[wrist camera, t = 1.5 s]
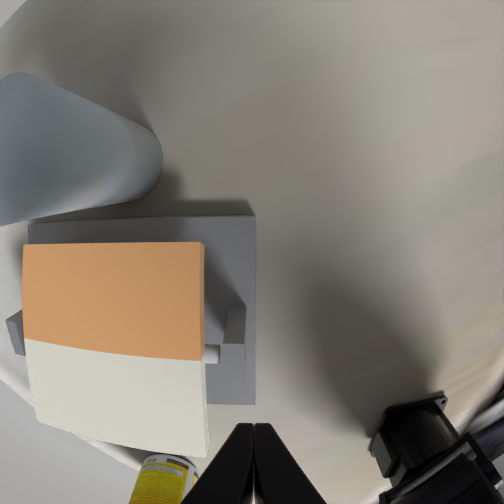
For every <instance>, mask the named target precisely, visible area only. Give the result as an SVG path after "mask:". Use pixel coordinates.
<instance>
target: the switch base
mask: <svg viewBox="0 0 504 504" xmlns="http://www.w3.org/2000/svg"><path fill="white" fill-rule="evenodd" d="M28 232H29V242H30V244H73V243H135V242H201V243H202V244H204V337H205V344H216V345H220V349H221V358H220V364H210V363H205V375H206V400H207V404H230V405H255V215H214V216H169V217H139V218H115V219H95V220H77V221H61V222H47V223H35V224H31V225H28ZM6 324H7V328H8V331H9V334H10V338H11V341H12V344H13V347H14V350H15V353H16V354H19V355H23V356H26V352H25V342H24V330H23V312H22V310H20V311H19V312H17V313H16V314H14V315H12V316H11V317H9V318H8V319H6Z"/></svg>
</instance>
